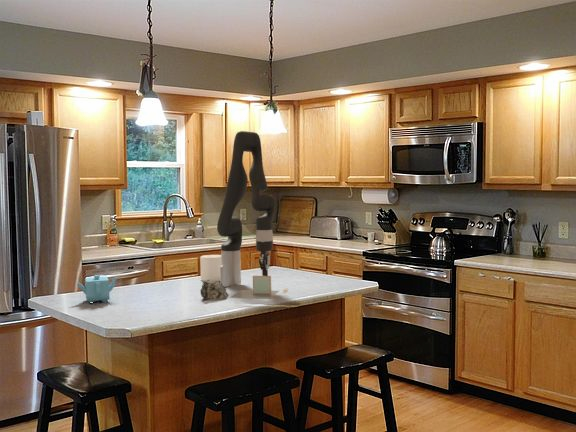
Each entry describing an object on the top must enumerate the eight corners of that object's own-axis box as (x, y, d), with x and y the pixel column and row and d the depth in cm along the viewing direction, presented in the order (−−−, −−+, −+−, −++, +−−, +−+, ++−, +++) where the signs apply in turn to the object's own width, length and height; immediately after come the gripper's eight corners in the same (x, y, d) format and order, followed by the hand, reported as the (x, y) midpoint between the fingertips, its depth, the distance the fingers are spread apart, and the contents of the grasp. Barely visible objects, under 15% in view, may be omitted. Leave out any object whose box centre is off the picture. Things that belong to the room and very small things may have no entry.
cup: (222, 281, 322) (221, 257, 321) (199, 281, 322) (198, 257, 321) (225, 277, 333) (224, 254, 333) (202, 277, 334) (202, 254, 333)
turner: (281, 291, 294) (281, 288, 293) (291, 291, 293) (291, 288, 293) (276, 298, 278) (276, 295, 278) (286, 298, 277) (286, 295, 277)
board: (229, 299, 275) (229, 297, 275) (240, 291, 293) (240, 289, 292) (270, 301, 271) (270, 298, 271) (279, 293, 289) (279, 290, 289)
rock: (198, 306, 270) (210, 288, 267) (193, 292, 278) (205, 274, 275) (224, 314, 277) (236, 297, 274) (218, 300, 285) (230, 284, 282)
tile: (252, 294, 282) (252, 276, 282) (253, 293, 284) (253, 275, 283) (270, 294, 281) (270, 276, 280) (271, 293, 282) (271, 275, 282)
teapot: (76, 299, 280) (75, 274, 279) (118, 296, 286) (117, 271, 285) (78, 306, 265) (77, 279, 264) (122, 303, 271) (121, 276, 270)
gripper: (259, 238, 292) (260, 275, 293) (252, 241, 279) (253, 280, 280) (275, 238, 291) (276, 276, 292) (269, 241, 278) (270, 281, 279)
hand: (265, 278), depth 286 cm, fingers closed
